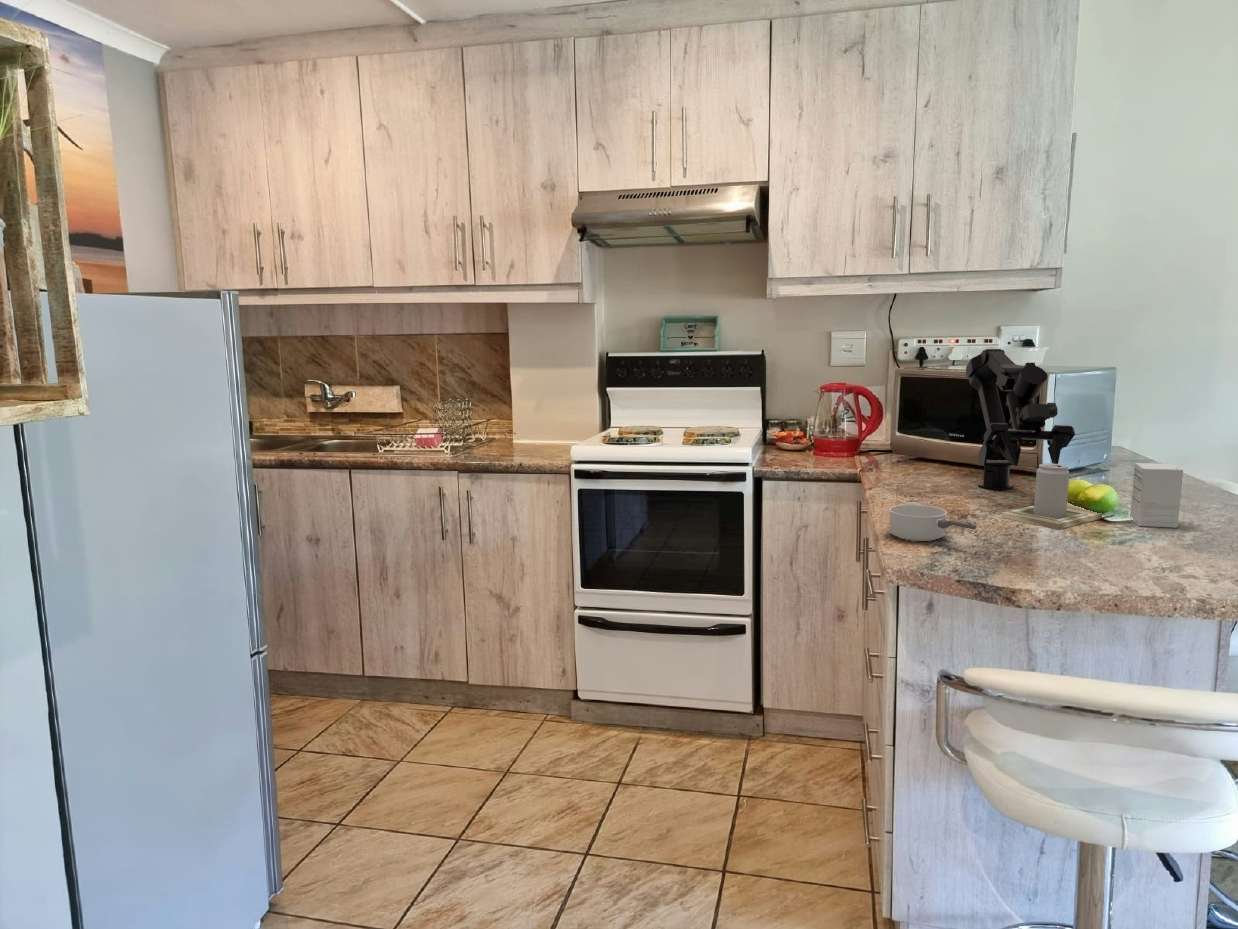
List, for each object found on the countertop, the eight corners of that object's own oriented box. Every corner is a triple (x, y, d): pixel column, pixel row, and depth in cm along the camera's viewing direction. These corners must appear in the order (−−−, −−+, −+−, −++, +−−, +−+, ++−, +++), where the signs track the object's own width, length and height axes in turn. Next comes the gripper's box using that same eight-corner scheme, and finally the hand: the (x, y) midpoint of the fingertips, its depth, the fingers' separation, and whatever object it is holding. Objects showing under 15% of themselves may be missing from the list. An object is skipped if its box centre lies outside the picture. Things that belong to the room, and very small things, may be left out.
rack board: (1057, 505, 194) (1057, 499, 194) (1114, 515, 183) (1114, 509, 183) (1001, 517, 183) (1002, 511, 183) (1058, 529, 172) (1059, 523, 172)
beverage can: (1072, 521, 179) (1076, 467, 177) (1046, 522, 178) (1050, 468, 176) (1052, 514, 185) (1056, 462, 183) (1026, 516, 184) (1030, 463, 182)
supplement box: (1167, 520, 178) (1173, 463, 176) (1178, 528, 171) (1184, 469, 169) (1128, 518, 181) (1133, 462, 178) (1137, 526, 174) (1143, 467, 171)
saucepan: (950, 558, 154) (952, 529, 153) (875, 534, 171) (876, 508, 170) (994, 549, 158) (995, 521, 157) (916, 527, 176) (917, 502, 175)
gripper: (993, 388, 190) (1005, 444, 182) (1077, 391, 189) (1093, 447, 180) (978, 417, 200) (988, 471, 191) (1058, 419, 198) (1072, 474, 190)
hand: (1035, 465), depth 188 cm, fingers open, 9 cm apart
